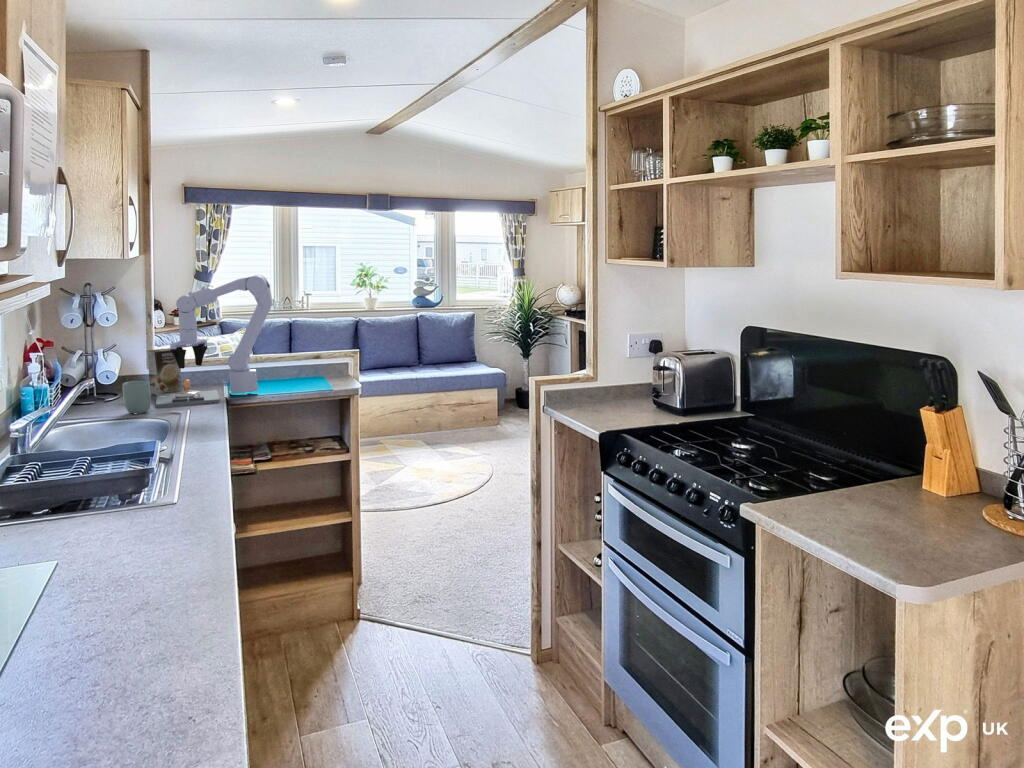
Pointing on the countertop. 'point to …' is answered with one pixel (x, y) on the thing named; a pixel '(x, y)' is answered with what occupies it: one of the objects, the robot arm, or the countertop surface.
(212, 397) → the gray mechanism base plate
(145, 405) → the cup
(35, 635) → the countertop surface
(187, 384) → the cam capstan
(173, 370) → the coffee box
